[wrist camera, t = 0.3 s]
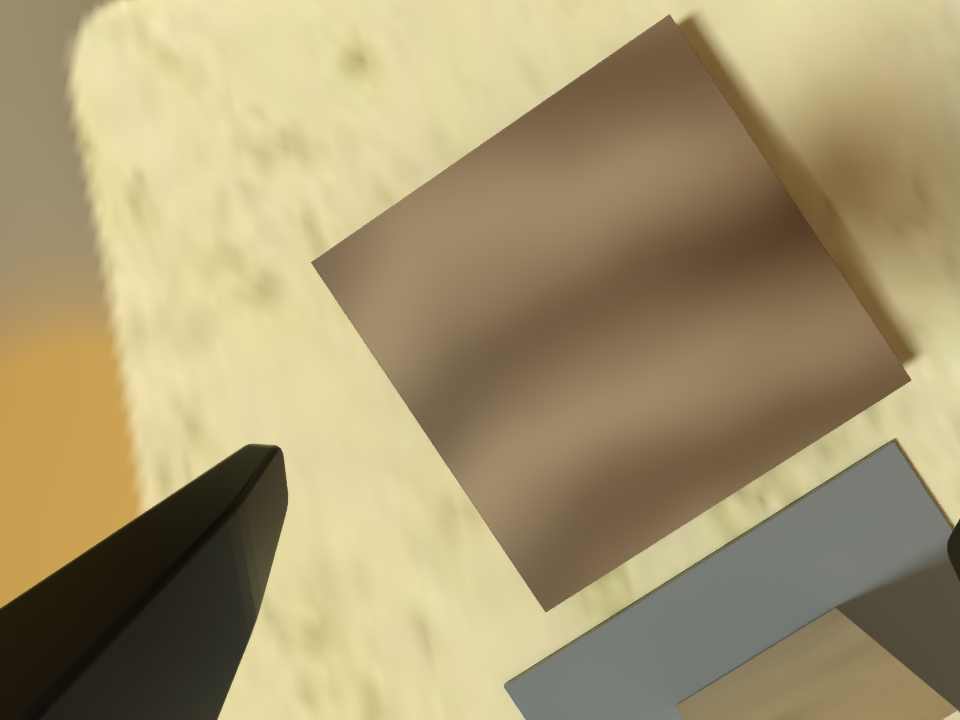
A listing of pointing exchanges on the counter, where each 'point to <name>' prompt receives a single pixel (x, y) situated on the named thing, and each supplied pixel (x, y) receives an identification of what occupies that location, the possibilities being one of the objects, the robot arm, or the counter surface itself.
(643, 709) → the tile
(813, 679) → the oak block
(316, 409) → the counter surface
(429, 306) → the walnut pad
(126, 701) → the robot arm
